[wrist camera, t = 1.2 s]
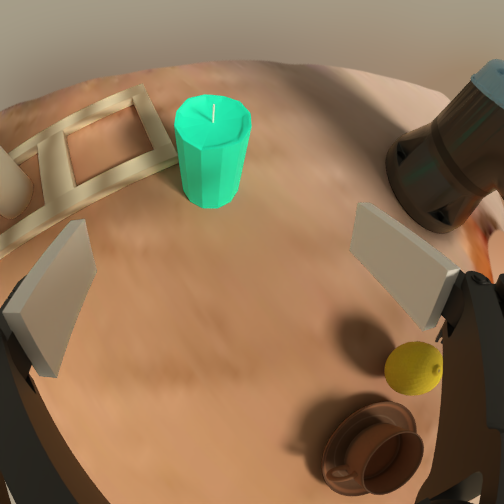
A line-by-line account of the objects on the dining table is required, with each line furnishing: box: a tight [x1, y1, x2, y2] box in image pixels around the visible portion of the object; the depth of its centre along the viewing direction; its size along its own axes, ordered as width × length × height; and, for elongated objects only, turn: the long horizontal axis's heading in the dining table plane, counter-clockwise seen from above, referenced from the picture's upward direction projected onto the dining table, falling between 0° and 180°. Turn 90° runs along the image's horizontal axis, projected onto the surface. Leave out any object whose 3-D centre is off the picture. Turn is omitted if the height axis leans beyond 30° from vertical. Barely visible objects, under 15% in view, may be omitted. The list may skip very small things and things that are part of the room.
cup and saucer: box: [322, 402, 424, 496], centre depth 22 cm, size 12×12×6 cm
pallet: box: [0, 83, 179, 259], centre depth 27 cm, size 28×14×2 cm, turn 118°
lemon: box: [384, 342, 443, 396], centre depth 23 cm, size 6×6×8 cm
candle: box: [174, 95, 252, 208], centre depth 24 cm, size 6×6×12 cm
